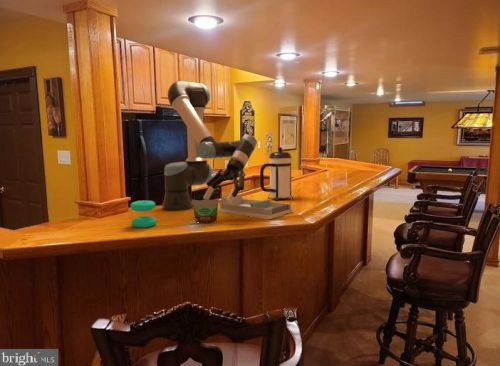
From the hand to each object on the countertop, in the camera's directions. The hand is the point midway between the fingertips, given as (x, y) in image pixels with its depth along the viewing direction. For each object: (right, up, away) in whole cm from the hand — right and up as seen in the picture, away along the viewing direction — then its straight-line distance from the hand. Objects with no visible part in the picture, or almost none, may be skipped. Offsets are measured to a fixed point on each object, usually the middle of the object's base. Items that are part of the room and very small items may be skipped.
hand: (216, 200), depth 159 cm
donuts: (-30, -10, -5) cm, 32 cm away
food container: (-4, -9, -1) cm, 10 cm away
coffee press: (+31, -2, +54) cm, 62 cm away
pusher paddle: (+18, -4, +18) cm, 26 cm away
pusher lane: (+17, -6, +19) cm, 26 cm away
